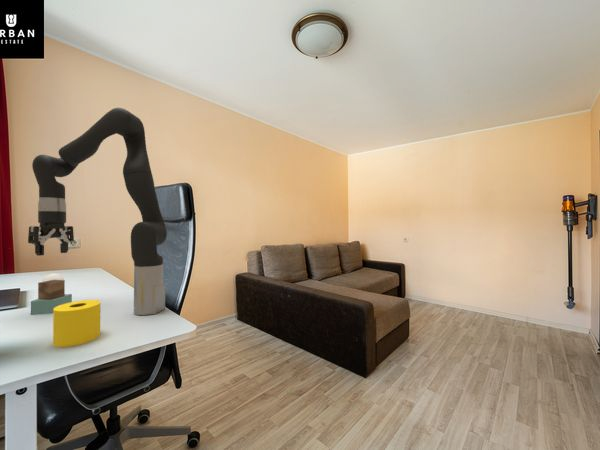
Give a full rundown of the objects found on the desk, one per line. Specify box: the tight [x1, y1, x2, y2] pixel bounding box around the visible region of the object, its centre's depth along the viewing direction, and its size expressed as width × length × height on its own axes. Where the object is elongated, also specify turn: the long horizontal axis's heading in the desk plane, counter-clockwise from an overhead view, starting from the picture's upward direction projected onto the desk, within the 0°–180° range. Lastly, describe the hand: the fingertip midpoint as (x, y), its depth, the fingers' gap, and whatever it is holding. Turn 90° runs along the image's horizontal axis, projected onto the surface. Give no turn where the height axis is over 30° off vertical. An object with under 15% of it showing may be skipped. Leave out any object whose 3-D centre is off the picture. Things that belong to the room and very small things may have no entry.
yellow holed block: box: [52, 299, 102, 348], centre depth 72 cm, size 10×10×9 cm
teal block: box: [30, 293, 73, 316], centre depth 95 cm, size 8×8×5 cm
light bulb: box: [41, 272, 65, 282], centre depth 109 cm, size 7×7×11 cm
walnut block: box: [37, 279, 66, 300], centre depth 95 cm, size 5×5×6 cm
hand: (52, 254), depth 95 cm, fingers open, 8 cm apart
